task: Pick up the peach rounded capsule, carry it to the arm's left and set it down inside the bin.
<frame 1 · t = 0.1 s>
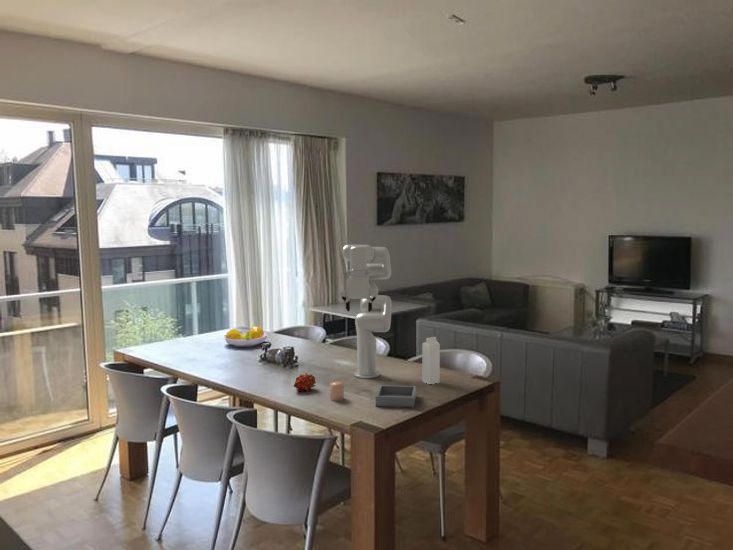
hand: (359, 311, 268), 37 cm above the table, tool pointing down, fingers open, 9 cm apart
bin: (396, 401, 256), on the table
dragon fruit: (304, 391, 272), on the table
fruit bowl: (245, 345, 364), on the table
milk: (430, 382, 283), on the table
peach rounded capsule: (337, 399, 260), on the table
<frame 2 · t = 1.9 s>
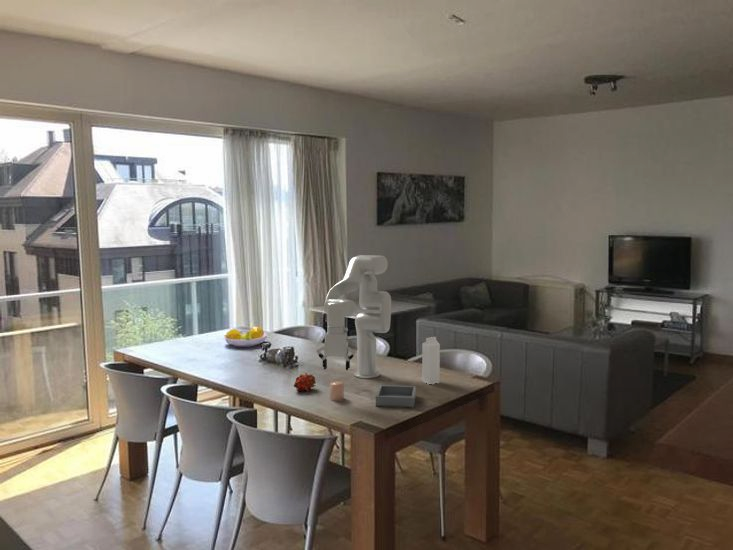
hand: (336, 369, 258), 14 cm above the table, tool pointing down, fingers open, 9 cm apart
nothing on the table moved.
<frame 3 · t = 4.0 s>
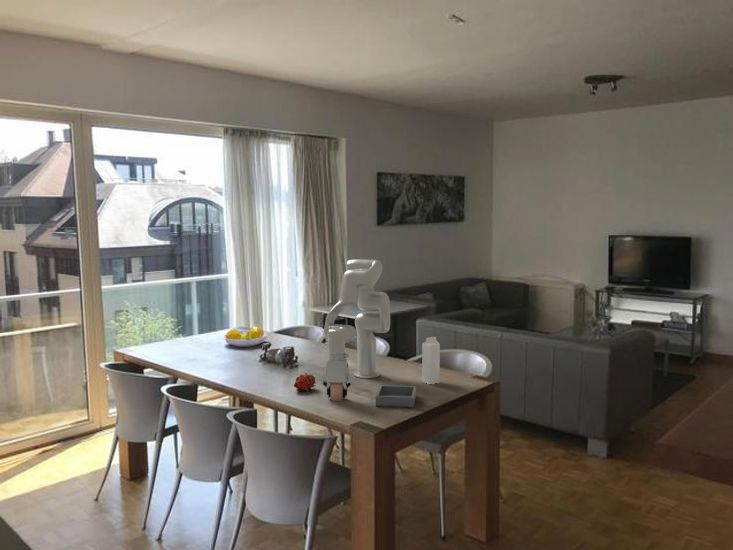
hand: (337, 396, 260), 1 cm above the table, tool pointing down, fingers closed on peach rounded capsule, 6 cm apart
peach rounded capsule: (337, 398, 260), on the table, touching gripper
everything else where it was.
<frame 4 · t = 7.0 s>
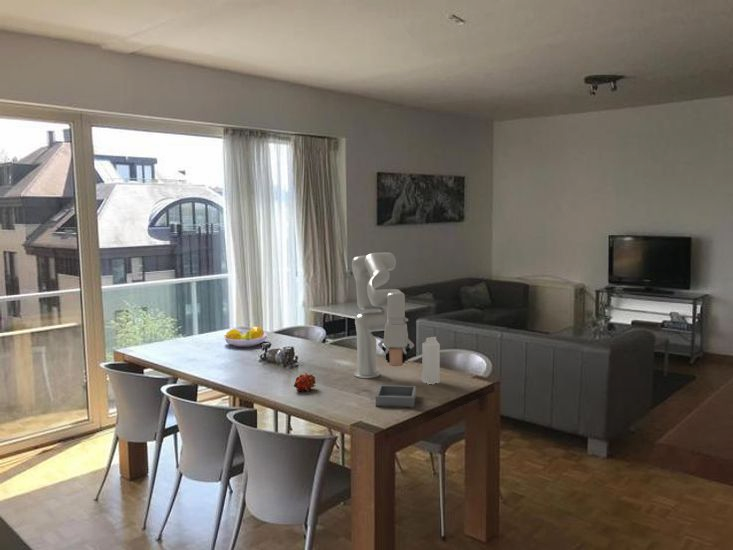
hand: (396, 361, 254), 17 cm above the table, tool pointing down, fingers closed on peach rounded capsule, 6 cm apart
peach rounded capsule: (396, 364, 254), point 16 cm above the table, touching gripper
everything else where it was.
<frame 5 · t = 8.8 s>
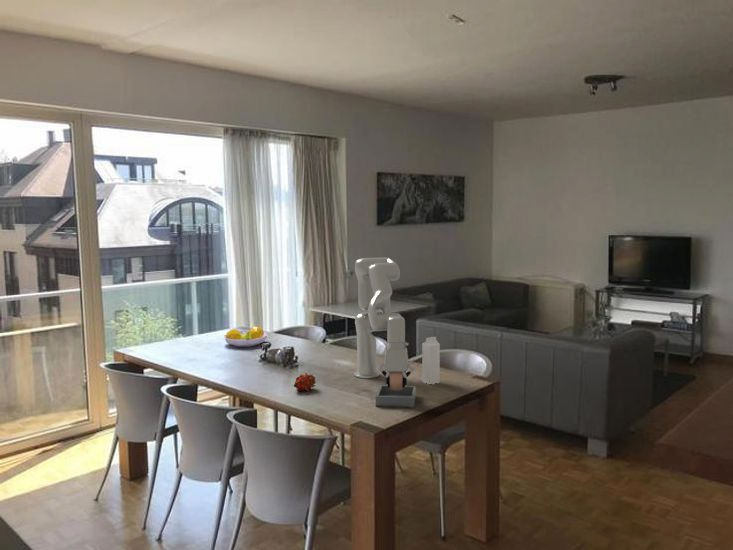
hand: (396, 385, 255), 7 cm above the table, tool pointing down, fingers closed on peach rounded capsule, 6 cm apart
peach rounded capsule: (396, 388, 255), point 6 cm above the table, touching gripper
everything else where it was.
when the fingers open (5 cm above the table, at t = 10.2 s): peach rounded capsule drops 3 cm, resting on bin.
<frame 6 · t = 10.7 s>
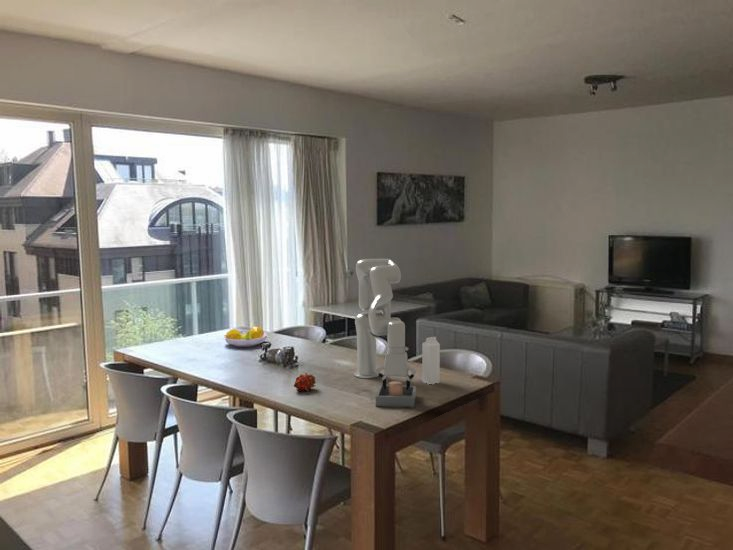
hand: (396, 388, 256), 6 cm above the table, tool pointing down, fingers open, 9 cm apart
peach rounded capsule: (395, 399, 256), point 1 cm above the table, touching bin
everything else where it was.
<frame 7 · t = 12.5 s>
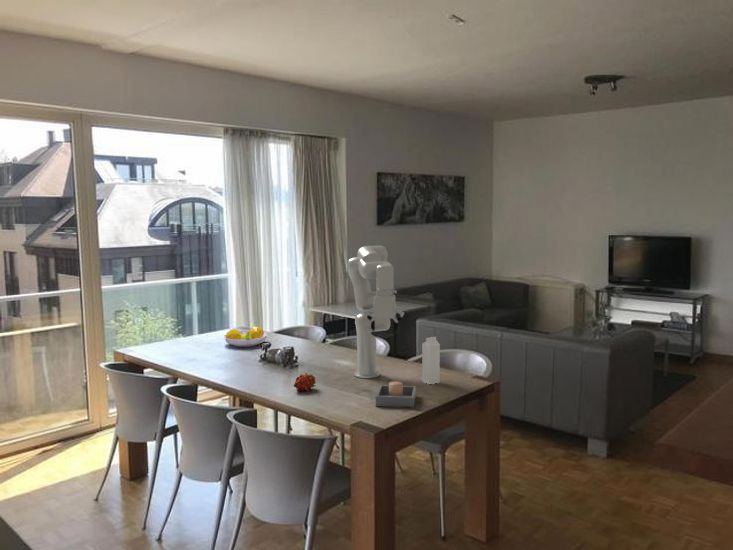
hand: (384, 330, 262), 29 cm above the table, tool pointing down, fingers open, 9 cm apart
nothing on the table moved.
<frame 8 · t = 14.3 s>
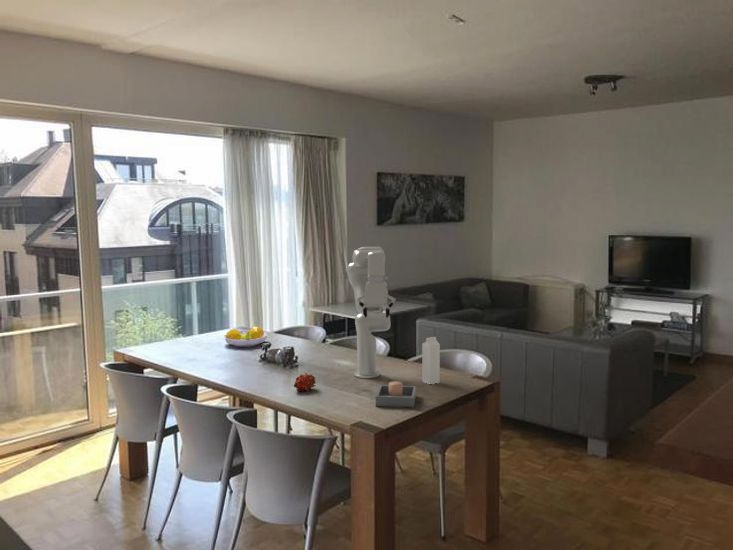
hand: (376, 317, 267), 34 cm above the table, tool pointing down, fingers open, 9 cm apart
nothing on the table moved.
at the end: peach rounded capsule inside the target area on the bin (0.2 cm from its centre), point 0.8 cm above the bin's base; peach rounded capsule tilted 1°; the gripper is holding nothing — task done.
